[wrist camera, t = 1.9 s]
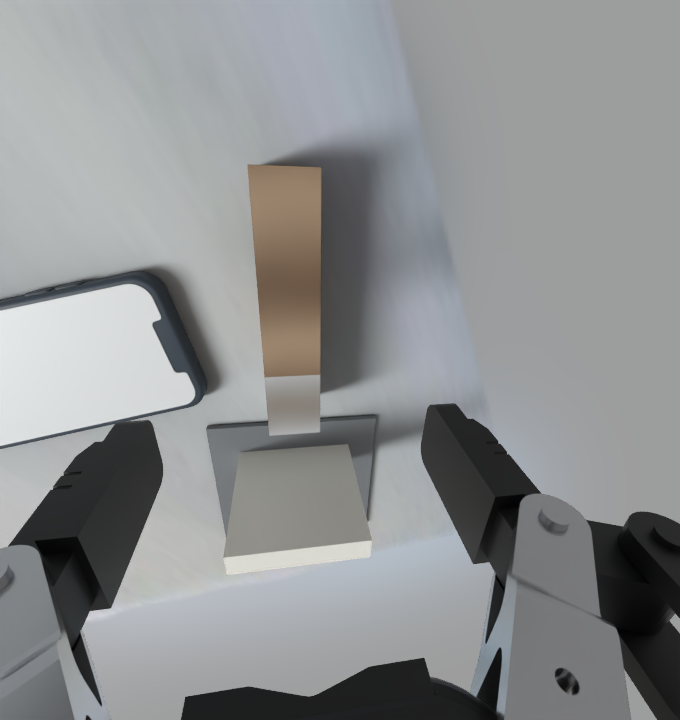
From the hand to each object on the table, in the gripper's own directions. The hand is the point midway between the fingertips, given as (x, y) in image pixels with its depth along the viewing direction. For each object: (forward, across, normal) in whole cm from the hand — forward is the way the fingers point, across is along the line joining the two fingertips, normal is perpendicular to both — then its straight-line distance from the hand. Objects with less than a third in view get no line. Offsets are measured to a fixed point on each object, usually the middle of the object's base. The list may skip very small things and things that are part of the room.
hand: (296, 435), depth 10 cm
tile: (+12, 0, +12) cm, 17 cm away
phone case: (+13, +14, +4) cm, 19 cm away
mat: (+12, 0, +15) cm, 19 cm away
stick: (+12, 0, 0) cm, 12 cm away
